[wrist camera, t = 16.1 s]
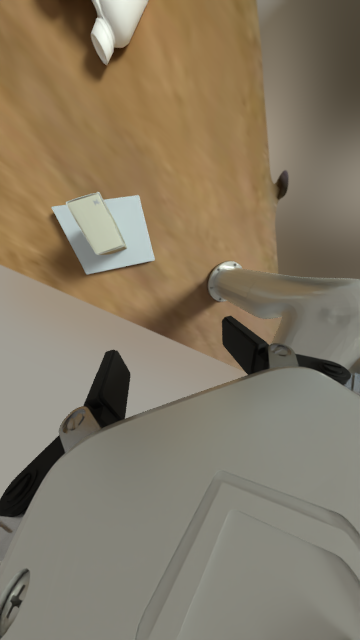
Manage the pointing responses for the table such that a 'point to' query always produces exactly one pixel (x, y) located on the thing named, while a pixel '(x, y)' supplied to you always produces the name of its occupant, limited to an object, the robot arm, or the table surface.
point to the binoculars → (115, 24)
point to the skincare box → (97, 224)
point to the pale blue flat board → (130, 227)
